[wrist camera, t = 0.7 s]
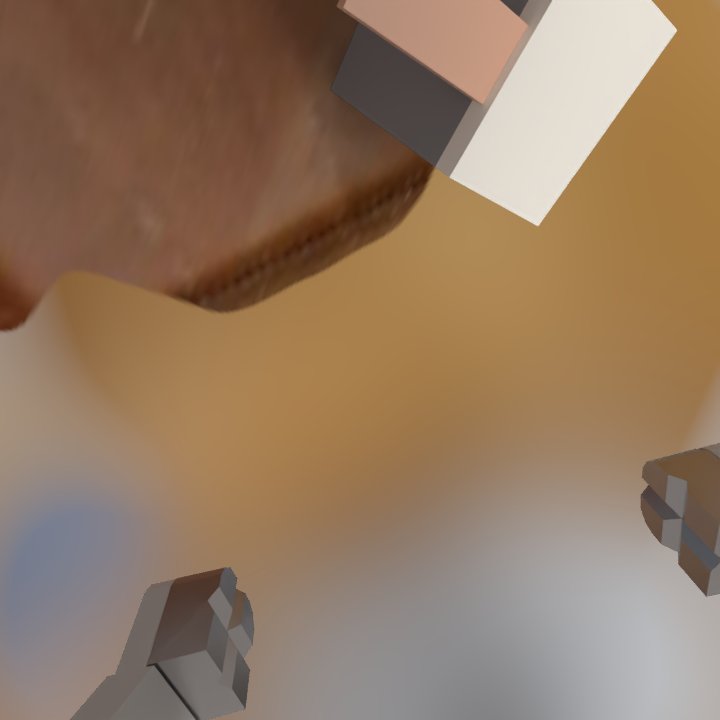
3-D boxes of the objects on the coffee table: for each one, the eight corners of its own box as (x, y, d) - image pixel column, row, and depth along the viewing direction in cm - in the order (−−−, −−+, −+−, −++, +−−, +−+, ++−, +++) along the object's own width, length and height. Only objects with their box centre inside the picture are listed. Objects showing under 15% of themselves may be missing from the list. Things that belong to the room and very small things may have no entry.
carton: (330, 89, 47) (435, 166, 28) (387, -47, 42) (565, -66, 23) (392, 126, 51) (521, 214, 32) (452, 6, 46) (649, 27, 27)
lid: (302, 93, 23) (310, 101, 22) (425, -220, 18) (447, -238, 17) (521, 214, 32) (538, 226, 31) (649, 27, 27) (677, 30, 25)
